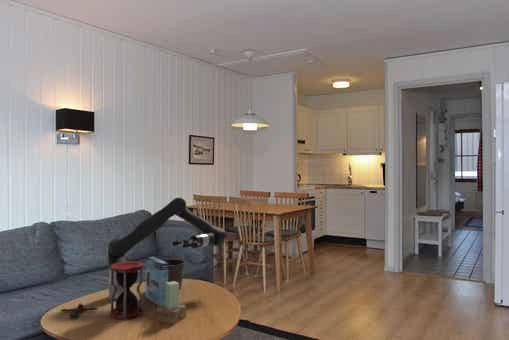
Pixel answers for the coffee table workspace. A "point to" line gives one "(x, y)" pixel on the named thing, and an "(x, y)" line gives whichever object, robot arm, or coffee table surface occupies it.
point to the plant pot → (175, 270)
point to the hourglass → (126, 290)
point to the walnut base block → (171, 314)
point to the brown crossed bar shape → (78, 311)
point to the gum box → (156, 280)
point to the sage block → (171, 295)
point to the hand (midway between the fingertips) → (177, 244)
